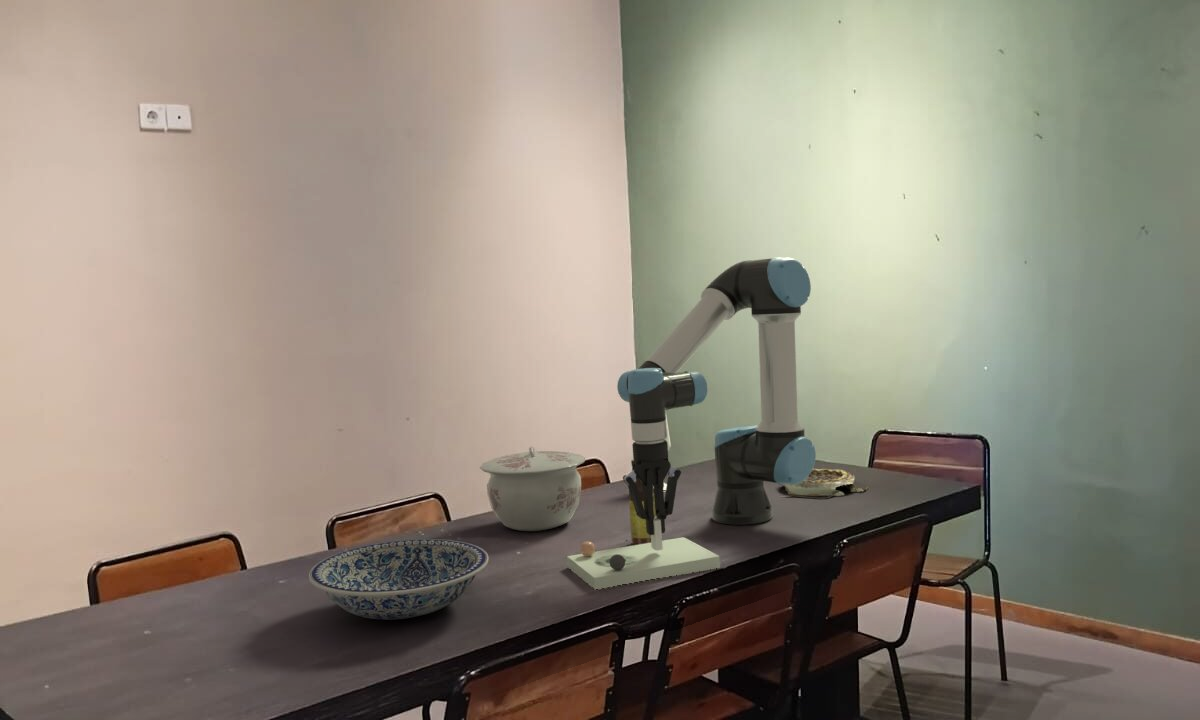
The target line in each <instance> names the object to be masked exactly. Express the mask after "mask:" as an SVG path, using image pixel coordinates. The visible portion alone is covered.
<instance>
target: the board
mask: <svg viewBox="0 0 1200 720" xmlns="http://www.w3.org/2000/svg"><path fill="white" fill-rule="evenodd" d="M662 546H663V550H657V551H656V550H655V549H653V548H652V547H651V543H645V544H639V545H635V544H632V545H628V546H623V547H616V548H609V549H603V550H597V551H596V550H595V552H594V553H593V555H591V556H584V555H583V554H582V553H579V554H573V555H567V556H566V558H567V560H566V561H567V568H568V569H569V570H570V569H571V570H570V571H572V572H573V573H574V574H575V573H576V574H577V576H578V577H579V579H581V578H582V579H581V580H582V581H584V583H586V584H587V583H588V584H587V585H588V586H590V587H591V588H592V587H593V588H594V591H597V590H596V589H598V590H603V589H602V588H604V589H608V588H607V587H610V588H614V587H613V586H615V587H618V586H617V585H621V586H623V585H622V584H627V585H630V584H629V583H632V584H635V583H634V582H638V583H640V582H639V581H643V582H646V581H645V580H649V581H651V580H650V579H655V580H657V579H656V578H660V579H664V578H663V577H666V578H670V577H669V576H672V577H676V575H677V576H681V575H682V574H683V575H687V574H693V573H692V572H694V573H699V571H700V572H703V571H704V572H705V571H710V569H711V570H716V568H717V569H721V558H720V555H718V554H717V553H715V552H712V551H710V550H709V549H707V548H705V547H703V546H701V545H699V544H697V543H695V542H693V541H691V540H690V539H688V538H686V537H683V536H682V537H677V538H672V539H664V540H662ZM616 554H619V555H621V556H623V557H624V559H625V560H626V561H625V566H624V567H623V568H622V569H621V570H614V569H613V568H612V567H611V566H610V559H611V557H612V556H613V555H616ZM576 574H575V575H576ZM593 588H592V589H593Z"/></svg>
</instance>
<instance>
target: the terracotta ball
mask: <svg viewBox="0 0 1200 720" xmlns="http://www.w3.org/2000/svg"><path fill="white" fill-rule="evenodd" d="M594 552H596V547H595V544H594V543H593V542H591V541H587V540H586V541H584V542H582V544H581V545H580V554H583V555H584V556H591V555H593V553H594Z"/></svg>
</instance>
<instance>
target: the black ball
mask: <svg viewBox="0 0 1200 720" xmlns="http://www.w3.org/2000/svg"><path fill="white" fill-rule="evenodd" d="M610 566H611V567H612V568H613V569H614V570H621V569H622V568H623V567H624V566H625V559H624V557H623V556H621V555H619V554H616V555H613V556H612V557H611V559H610Z"/></svg>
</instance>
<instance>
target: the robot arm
mask: <svg viewBox="0 0 1200 720" xmlns="http://www.w3.org/2000/svg"><path fill="white" fill-rule="evenodd" d="M811 285H812V284H811V278H810V275H809V274H808V272H807V269H806V268H805V266H803V264H802V263H801V262H800V261H799V260H797V259H795V258H792V257H773V258H763V259H755V260H753V259H752V260H751V259H749V260H743V261H740V262H737V263H735V264H733V265H731V266H729V267H728V268H727V269H725V270H724V271H723V272H722V273H720V274H719V275H717V277H716V278H714V280H712V281H711V282H710V284H708V285H707V286H706V287H705V288H704V289H703V291H702V292H701V295H700V300H699V301H698V302H697V303H696V304H695V306H694V307H693V308H692V309H691V310H690V311H689V312H688V314H687V315H686V316H684V318H683V319H682V320H681V321H680V322H679V323H678V324H677V325H676V326H675V327H674V329H673V330H672V331H671V332H670V333H669V334H668V335H667V337H665V338H664V340H663V341H662V342H661V343H660V344H659V345H658V347H657V348H655V349H654V351H653V352H652V353H651V354H650V355H649V356H648V357H647V358H646V359H645V361H643V363H642V364H640V366H639V367H638V368H635V369H631V370H629V371H625V372H623V373H622V374H621V375H620V376H619V378H618V380H617V385H616V386H617V392H618V393H617V394H618V395H619V397H620V398H621V399H622V400H623V401H624V402H626V403H628V404H629V413H630V416H629V417H630V427H631V440H632V441H634V442H633V443H632V445H631V446H632V460H633V459H634V465H633V467H632V466H631V467H632V469H631V471H630V472H629V473H628V474H627V475H623V476H622V480H623V481H624V483H625V484H626V486H627V487H628V492H629V491H630V495H631V498H632V501H633V504H634V507H635V511H636V514H637V516H638V517H640V518H642V519H645V520H646V531H647V534H649V535H651V547H652V548H653V549H655V550H656V551H657V550H663V546H662V541H663V537H662V536H663V534H665V532H666V523H665V522H666V521H665V520H666V519H667V516H669V515H672V514H673V512H674V504H675V500H676V499H675V498H676V491H677V485H678V480H679V478H680V477H681V474H682V470H680V469H677V468H675V467H673V466H671V462H670V460H669V451H668V444H667V442H666V440H664V439H666V438H667V429H666V416H667V411H668V410H672V409H678V408H684V407H693V406H695V405H699V404H700V403H701V404H702V402H704V401H705V400H706V397H707V394H708V383H707V380H706V378H705V376H703V374H702V373H701V372H699V371H695V370H692V371H691V370H690V371H689V370H685V371H684V372H683V371H682V372H680V371H681V369H683V367H684V366H685V365H686V364H687V362H688V361H689V360H690V359H691V358H692V357H693V356H694V355H695V353H697V351H698V350H699V349H700V348H701V347H702V346H703V344H704V343H705V342H707V340H708V339H709V338H710V337H711V335H713V333H714V332H715V331H716V330H717V329H718V328H719V326H720V325H721V324H722V323H723V322H724V321H727V320H730V319H732V318H733V317H734V315H736V314H737V313H738V312H740V311H743V310H744V309H745V310H746V309H750V310H751V317H752V318H753V319H754V320H755V321H757V323H758V324H757V325H758V349H759V350H758V351H759V352H758V354H759V381H760V386H759V387H760V409H761V410H760V411H761V412H760V413H761V415H760V416H761V420H760V423H759V424H757V425H748V426H739V427H738V426H737V427H733V428H726V429H721V430H719V431H717V432H716V434H715V436H714V447H713V448H714V456H715V472H716V486H717V487H716V488H717V490H716V493H715V495H714V501H713V504H712V509H711V519H712V521H714V522H716V523H719V524H723V525H724V524H725V525H737V526H738V525H739V526H742V525H754V524H760V523H761V524H762V523H765V522H767V521H770V520H771V519H772V518H773V508H772V505H771V501H770V500H769V497H768V494H767V492H766V489H765V487H764V485H765V484H764V482H766V483H767V482H768V483H773V484H778V485H781V486H784V485H797V484H800V483H802V482H803V481H804V480H806V479H807V477H808V476H809V474H810V473H811V472H812V469H814V466H815V464H816V456H817V455H816V453H817V452H816V447H815V445H814V444H813V442H812V441H811V439H809V438H808V437H806V436H805V427H804V425H802V423H800V422H799V420H798V418H799V417H798V391H797V390H798V389H797V387H798V386H797V383H798V382H797V361H796V360H797V358H796V357H797V355H796V353H797V352H796V325H795V323H796V320H797V319H798V318H799V316H801V313H802V310H801V309H802V307H803V305H805V304H806V303H808V300H809V298H808V297H810V296H811V290H812V288H811ZM665 410H666V411H665ZM636 476H637V478H638V479H639V480H640V481H641V482H642V488H643V499H644V507H643V504H642V501H641V497H640V494H639V491H638V488H637V485H636V483H635V482H636ZM667 476H668V478H667ZM665 478H667V482H666V484H667V487H666V491H663V487H664V483H665V481H664V480H665ZM653 488H654V498H655V512H656V516H657V518H656V517H655V518H654V509H653V494H652V489H653ZM664 493H665V494H664Z"/></svg>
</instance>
